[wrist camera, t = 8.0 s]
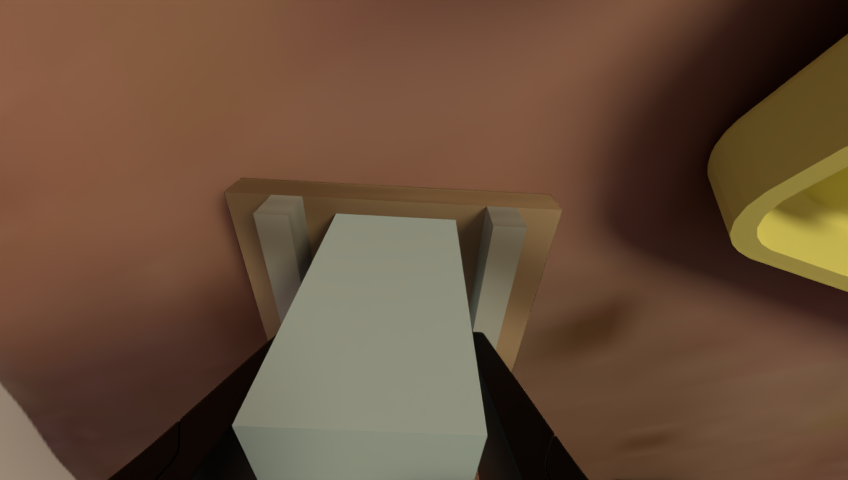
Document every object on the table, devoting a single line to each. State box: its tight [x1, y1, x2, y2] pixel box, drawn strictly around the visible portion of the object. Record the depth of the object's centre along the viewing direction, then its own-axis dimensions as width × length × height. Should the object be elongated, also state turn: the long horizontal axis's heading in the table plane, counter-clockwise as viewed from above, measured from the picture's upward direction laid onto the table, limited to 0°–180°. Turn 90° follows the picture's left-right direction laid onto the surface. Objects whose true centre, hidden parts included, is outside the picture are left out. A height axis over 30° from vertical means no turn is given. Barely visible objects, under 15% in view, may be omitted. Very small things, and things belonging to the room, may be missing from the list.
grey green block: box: [232, 214, 487, 480], centre depth 10 cm, size 6×4×7 cm
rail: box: [224, 178, 562, 372], centre depth 13 cm, size 18×11×8 cm, turn 177°
